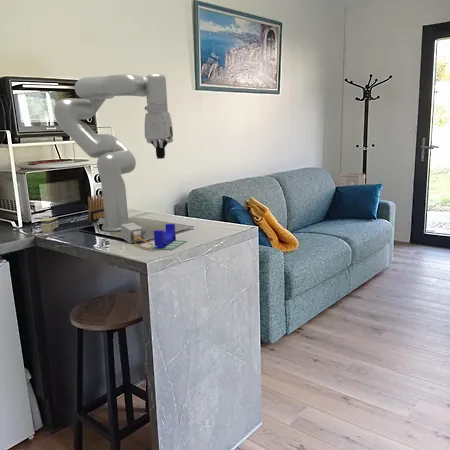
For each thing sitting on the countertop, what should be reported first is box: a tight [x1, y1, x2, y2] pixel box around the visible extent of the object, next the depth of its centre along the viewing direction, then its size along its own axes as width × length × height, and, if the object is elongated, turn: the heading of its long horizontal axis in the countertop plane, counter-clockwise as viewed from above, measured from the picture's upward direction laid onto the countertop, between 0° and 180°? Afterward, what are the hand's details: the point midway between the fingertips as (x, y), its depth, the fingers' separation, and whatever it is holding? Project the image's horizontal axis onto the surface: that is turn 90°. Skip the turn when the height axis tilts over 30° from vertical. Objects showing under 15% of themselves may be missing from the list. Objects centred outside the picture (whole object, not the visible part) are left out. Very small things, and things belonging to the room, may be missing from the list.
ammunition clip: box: [87, 193, 105, 224], centre depth 209 cm, size 11×2×12 cm, turn 150°
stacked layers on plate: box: [40, 217, 59, 234], centre depth 191 cm, size 10×9×6 cm
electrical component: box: [120, 222, 157, 251], centre depth 162 cm, size 24×6×5 cm, turn 40°
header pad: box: [146, 239, 188, 251], centre depth 161 cm, size 10×12×1 cm
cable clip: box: [153, 223, 177, 249], centre depth 161 cm, size 12×4×6 cm, turn 165°
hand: (160, 158), depth 175 cm, fingers closed
